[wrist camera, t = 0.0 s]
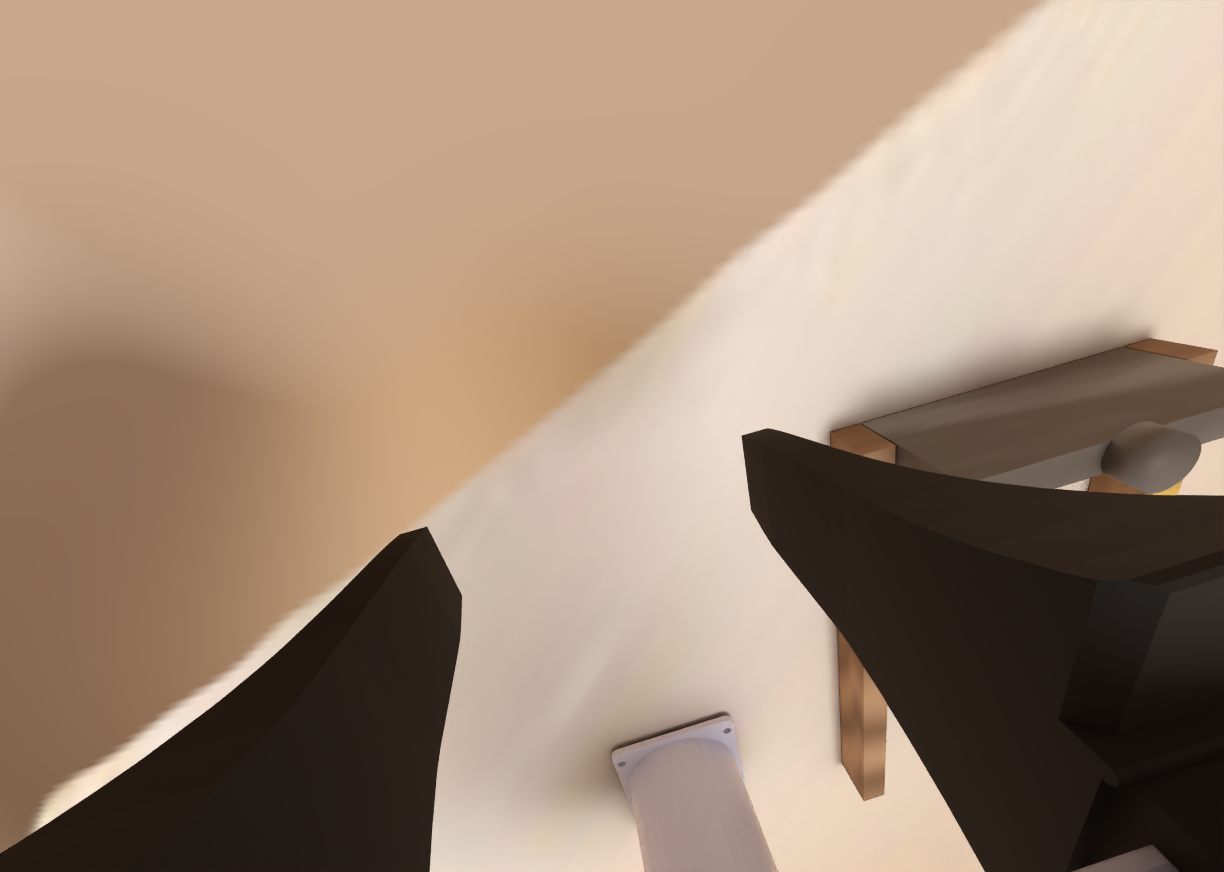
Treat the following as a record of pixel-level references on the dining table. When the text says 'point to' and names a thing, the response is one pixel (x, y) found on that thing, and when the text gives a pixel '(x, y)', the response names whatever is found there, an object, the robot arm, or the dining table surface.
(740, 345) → the dining table surface
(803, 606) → the dining table surface
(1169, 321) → the dining table surface
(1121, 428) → the brown piece
